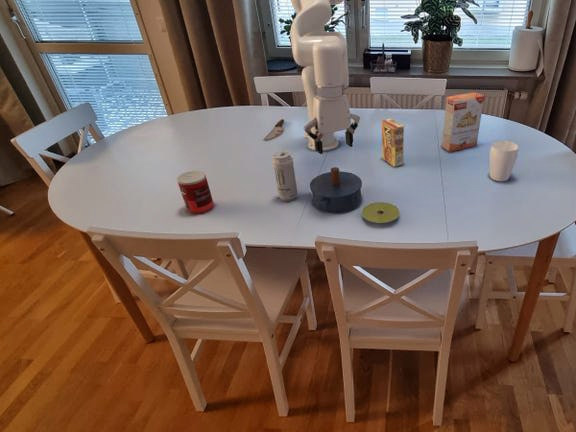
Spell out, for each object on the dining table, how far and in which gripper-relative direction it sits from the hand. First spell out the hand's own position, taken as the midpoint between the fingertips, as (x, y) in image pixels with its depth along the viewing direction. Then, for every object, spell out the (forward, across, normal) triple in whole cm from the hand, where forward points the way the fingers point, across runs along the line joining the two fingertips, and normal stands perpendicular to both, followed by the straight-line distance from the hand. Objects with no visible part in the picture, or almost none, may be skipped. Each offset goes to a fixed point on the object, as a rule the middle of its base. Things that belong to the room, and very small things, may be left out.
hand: (334, 149), depth 116 cm
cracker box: (+18, -60, -11) cm, 64 cm away
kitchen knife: (+17, -3, -67) cm, 69 cm away
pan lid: (+12, 0, 0) cm, 12 cm away
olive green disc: (+18, -6, +15) cm, 25 cm away
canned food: (+18, +39, -19) cm, 47 cm away
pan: (+18, 0, 0) cm, 18 cm away
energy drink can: (+18, +13, -10) cm, 24 cm away
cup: (+18, -55, +16) cm, 60 cm away
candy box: (+18, -30, -14) cm, 37 cm away
